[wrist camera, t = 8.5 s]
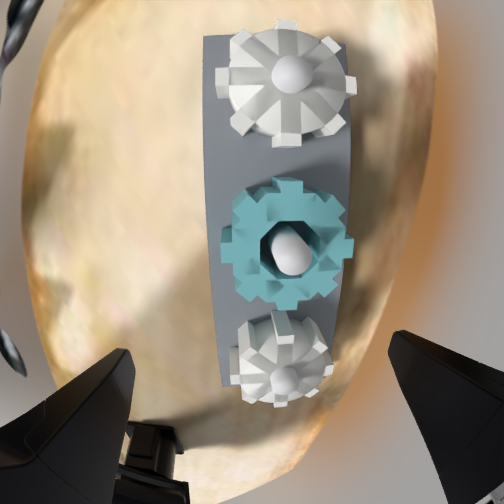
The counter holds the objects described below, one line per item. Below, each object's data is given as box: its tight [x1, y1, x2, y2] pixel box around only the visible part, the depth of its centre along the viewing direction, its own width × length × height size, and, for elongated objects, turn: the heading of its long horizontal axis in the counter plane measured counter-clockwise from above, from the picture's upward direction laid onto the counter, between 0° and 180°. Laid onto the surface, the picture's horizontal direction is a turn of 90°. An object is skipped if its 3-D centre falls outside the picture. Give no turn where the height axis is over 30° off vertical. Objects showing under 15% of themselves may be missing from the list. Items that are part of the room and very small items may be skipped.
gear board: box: [203, 20, 357, 408], centre depth 16 cm, size 26×9×6 cm, turn 1°
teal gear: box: [220, 177, 354, 311], centre depth 16 cm, size 7×7×3 cm
